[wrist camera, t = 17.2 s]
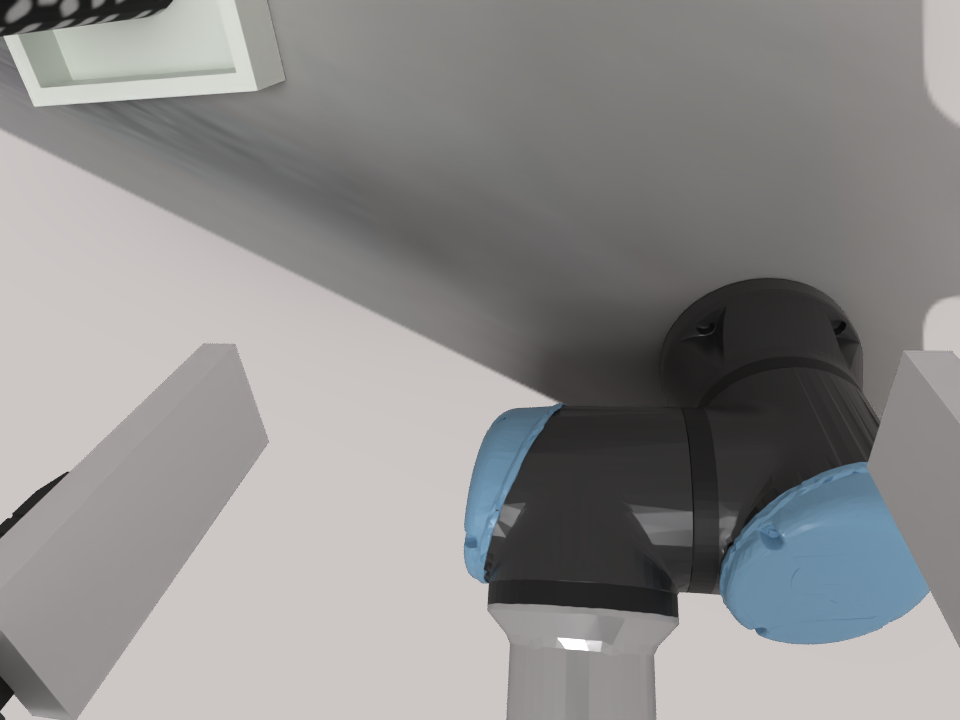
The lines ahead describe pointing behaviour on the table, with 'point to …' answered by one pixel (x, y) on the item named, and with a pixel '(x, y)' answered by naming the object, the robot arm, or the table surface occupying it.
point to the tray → (153, 55)
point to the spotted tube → (71, 13)
